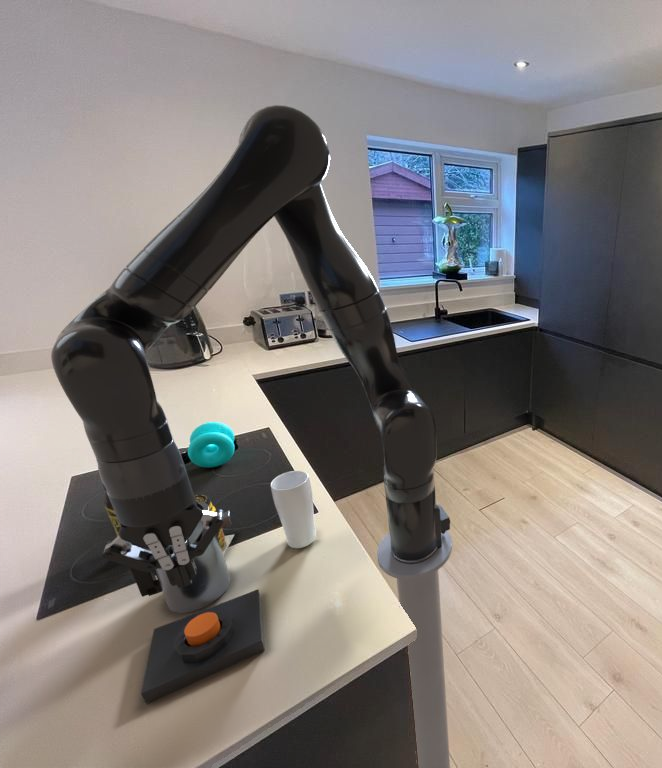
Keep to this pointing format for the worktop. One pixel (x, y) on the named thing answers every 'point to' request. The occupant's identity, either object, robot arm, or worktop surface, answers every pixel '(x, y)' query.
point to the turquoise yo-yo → (211, 444)
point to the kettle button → (202, 629)
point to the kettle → (203, 588)
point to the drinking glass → (295, 507)
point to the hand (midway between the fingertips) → (185, 581)
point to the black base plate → (203, 647)
